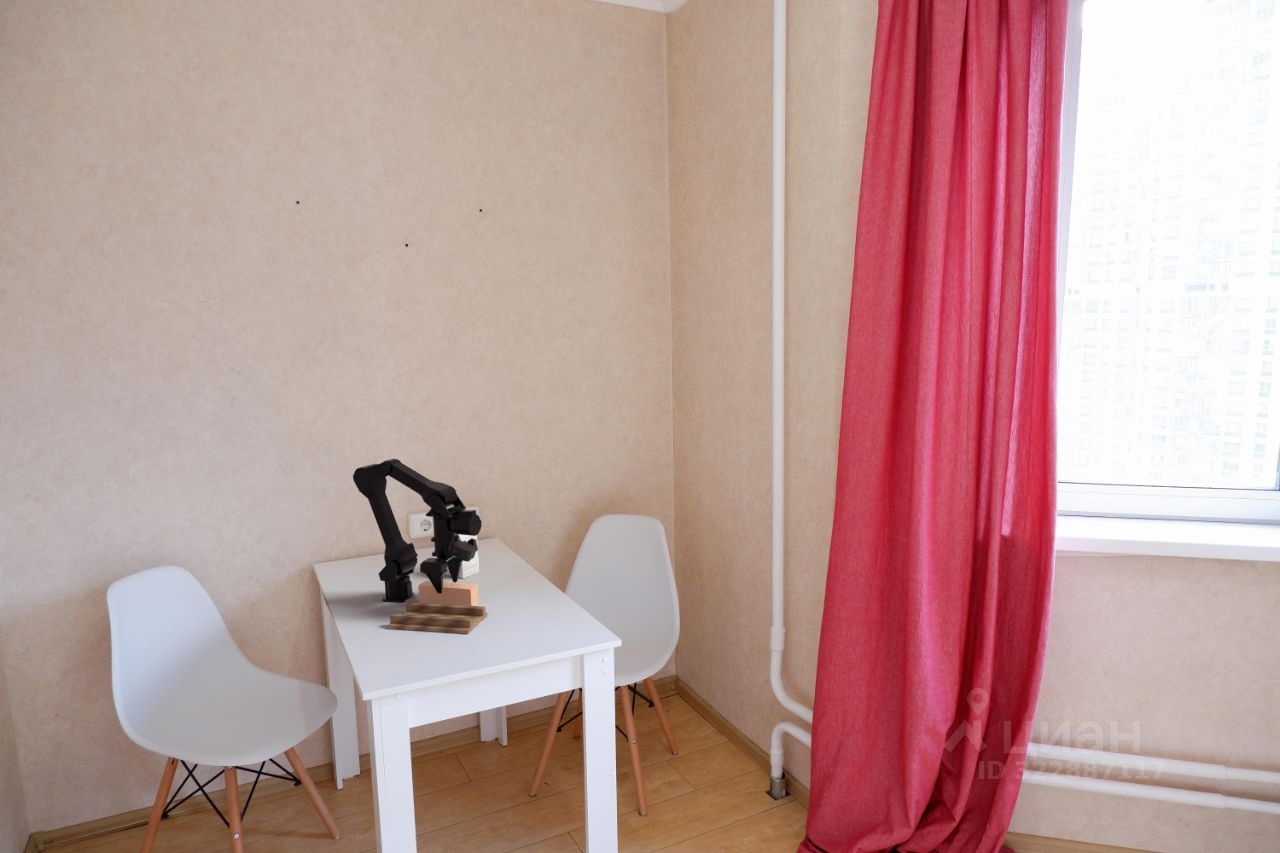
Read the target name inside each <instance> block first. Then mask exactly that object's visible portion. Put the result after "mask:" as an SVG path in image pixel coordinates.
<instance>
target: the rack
mask: <svg viewBox="0 0 1280 853" xmlns="http://www.w3.org/2000/svg"><path fill="white" fill-rule="evenodd" d="M488 613H489V612H488V611H487V612H486V606H482V605H481V606H480V605H478V606H464V605H447V604H429V603H419V602H410V601H409V602H407V603H406V604H405V612H404V613H396V612H395V613H391V614H390V615H389V621H390V623H389V624H387V629H388V630H401V629H406V631H416V630H417V631H419V632H431V631H432V632H434V633H447V634H448V632H449V634H462V633H465V635H468V634H470V633H471V632H472V631H473V630H474V629H476V628H477V627H478V626H479V623H480V622H481V621H482V622H483V621H484V620H485V619H486V618H487V617H488V615H489V614H488ZM482 622H481V623H482ZM481 623H480V624H481ZM432 632H431V633H432Z"/></svg>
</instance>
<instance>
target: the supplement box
mask: <svg viewBox="0 0 1280 853" xmlns="http://www.w3.org/2000/svg"><path fill="white" fill-rule="evenodd" d="M458 536H459V538H460V540H461V541H466V542H467V541H468V540H470V539H471V538H473V539H476V542H477V546H478V544H479V543H478V534H477V535H476V536H470V535H460V534H458ZM478 547H479V546H478ZM478 547H477V548H478ZM479 563H480V560H479V548H478V550H477V551H476V552H475V556H474V558H472V559H471V560H470V561H469V562H466V561H463V562H462V564H461V567H460V572H459V576H458V579H465V578H469V577H470V576H473V575H475V574H479V573H480V567H479V566H480V565H479ZM446 570H448V571H447V572H446V576H448V575H449V577H451V575H450V572H449V569H448V566H447V569H446Z"/></svg>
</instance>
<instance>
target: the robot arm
mask: <svg viewBox="0 0 1280 853" xmlns="http://www.w3.org/2000/svg"><path fill="white" fill-rule="evenodd" d="M387 477H390V478H392V479H393V480H395V481H397V482H399V483H400V484H402V485H403V486H404V487H407V488H408V489H410V490H411V491H413V492H415V493H417V494H418V495H420V497H421V499H422V501H423V502H424V504H426V505H427V506H428V507H430V510H429V511H428V512H426V513H425V516H426V517H428V518H429V517H430V518H432V524H433V537H431V538H430V542H431V543H434V544H433V545H434V551H432V552H431V557H428V558H426V559H425V560H423V561H422V562H421V563H420V564H419V572H420V573H423V575H424V574H425V575H426V577H427V578H428V581H431V583H432V585H433V586H434V588H435V590H436V591H437V593H438V594H441V593H442V589H443V582H444V576H445V574H447V571H448V570H446V569H447V566H448V569H449V572H450V575H451V576H450V578H451V580H452V583H458V580H459V577H458V576H459V572H460V567H461V564H462V562H463V561H466V562H469V561H470V560H471V559H472V558H474V556H475V552H476V551H477V550H478V551H479V548H477V547H479V546H477V544H478V541H477V542H476V539H473V538H471V539H470V540H468V541H467V542H466V541H461V540H460V538H459V536H458V534H460V535H470V536H476V535H477V536H478V535H479V533H480V532H481V531H482V530H481V529H482V525H483V524H482V520H481V517H480V515H478V514H477V510H476V509H469V510H468V509H467V507H466V505H465V504H464V503H463V501H462V500H461V497H459V496H458V494H457V490H456V489H455V488H454V487H453V486H451V485H449V484H448V483H444V482H439V481H434V480H431V479H429V478H428V477H426V476H424V475H422V474H421V473H419V472H417V471H415V469H412V468H411V467H409V466H407V465H406V464H404V463H402V462H401V460H399V459H398V458H390V459H387V460H384V461H382V462H380V463H372V464H368V465H365V466H364V465H363V466H361V467H357V468H356V469H355V470H354V473H353V475H352V479H353V482H354V484H355V486H356V488H357V489H358V492H359V493H360V494H361V495H363V496H364V497H365V498H366V499H367V500H368V503H369V504H370V509H371V511H372V514H373V516H374V519H375V522H376V524H377V527H378V529H379V532H380V535H381V538H382V541H383V543H384V545H385V549H384V555H383V559H384V563H385V565H384V567H383V568H382V569H381V570H380V572H378V577H379V580H380V581H381V582H384V592H385V594H384V595H385V597H383V598H382V601H383V602H393V603H394V602H395V603H396V602H397V603H404V602H406V600H408V599H410V598H411V597H412V596H414V595H415V592H413V584H412V583H413V582H412V580H411V576H410V575H412V574H414V571H415V567H416V566H417V564H418V556H419V555H418V553H417V552H416V550H415V544H414V543H413V542H410V543H408V542H407V541H405V540H404V538H403V537H402V533H401V530H400V528H399V525H398V523H397V520H396V517H395V515H394V512H393V510H392V506H391V504H390V502H389V499H388V496H387V493H386V490H387V483H388V480H387Z"/></svg>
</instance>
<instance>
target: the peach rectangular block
mask: <svg viewBox="0 0 1280 853" xmlns="http://www.w3.org/2000/svg"><path fill="white" fill-rule="evenodd" d="M417 587H418V601H419V602H418V603H429V604H447V605H464V606H477V605H478V606H480V604H479V590H478V589H479V588H478V587H479V585H478V584H476V583H475V584H474V583H473V584H472V583H463V582H462V583H460V582H448V581H443V589H442V593H441V594H438V593H437V591H436V590H435V588H434V586H433V585H432V583H431V581H430V580H425V581H423V582H421V583H420V584H418V585H417Z"/></svg>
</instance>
